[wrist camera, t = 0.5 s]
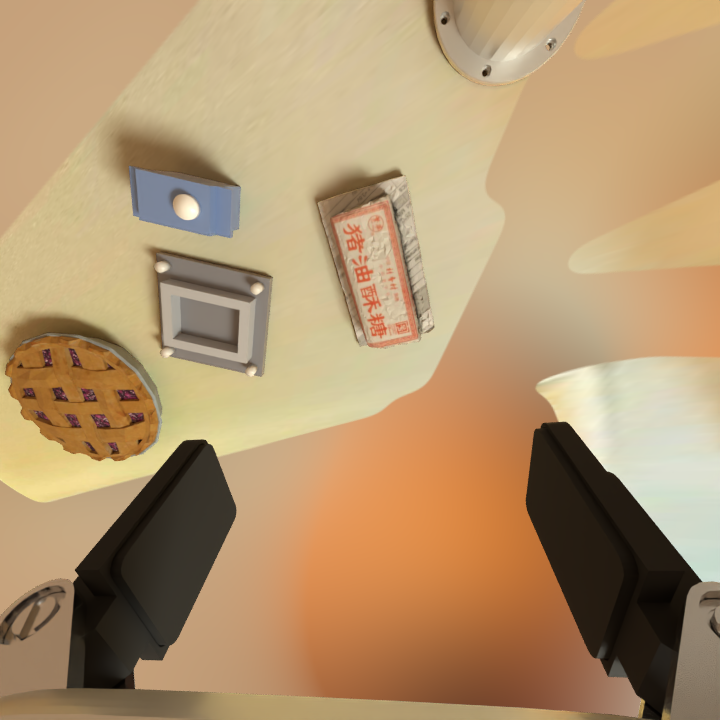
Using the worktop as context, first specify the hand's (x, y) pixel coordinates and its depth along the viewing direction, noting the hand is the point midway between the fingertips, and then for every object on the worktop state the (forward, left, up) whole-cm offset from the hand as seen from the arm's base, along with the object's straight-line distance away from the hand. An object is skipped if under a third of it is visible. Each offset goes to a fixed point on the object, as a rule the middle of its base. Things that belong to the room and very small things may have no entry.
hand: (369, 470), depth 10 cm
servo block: (-2, -21, -34) cm, 40 cm away
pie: (+29, -38, -34) cm, 58 cm away
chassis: (+12, -20, -34) cm, 41 cm away
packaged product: (+1, 0, -34) cm, 34 cm away
